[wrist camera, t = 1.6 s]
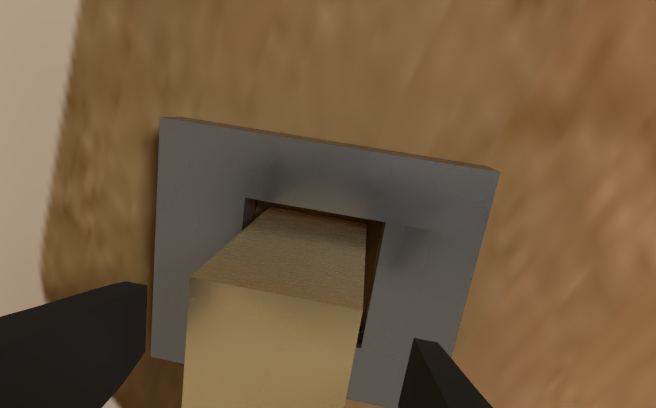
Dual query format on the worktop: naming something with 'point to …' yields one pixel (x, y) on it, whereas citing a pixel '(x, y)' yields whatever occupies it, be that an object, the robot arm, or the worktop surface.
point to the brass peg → (277, 315)
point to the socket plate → (329, 196)
